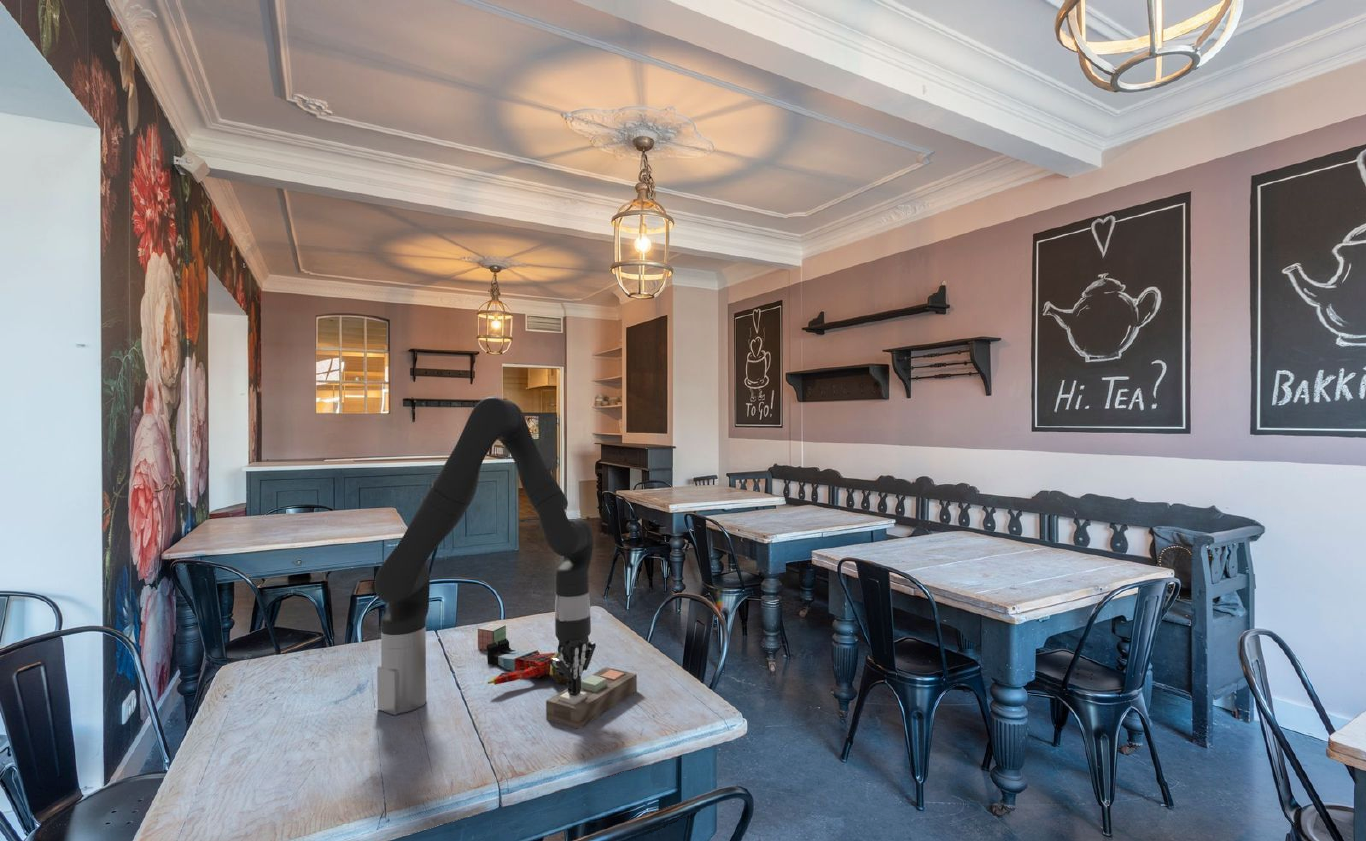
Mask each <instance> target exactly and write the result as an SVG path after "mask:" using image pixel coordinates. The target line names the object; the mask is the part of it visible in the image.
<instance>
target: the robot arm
mask: <svg viewBox="0 0 1366 841" xmlns="http://www.w3.org/2000/svg"><path fill="white" fill-rule="evenodd" d="M496 441H499V442H500V443H501V444H502V445H503V447H505V449H506V450H507V451H508V453H509V454H510V456H511V458H512V459H513V460H512V461H513V462H514V464H515V466H516V469H517V473H518V474H517V475H518V478H519V482H520V484H521V487H522V490H523V491H524V493H525V495H526V497H527V499H528V501H529V502H530V504H531V505H532V507H533V509H534V510H535V512H536V514H537V516H538V518H539V522H540V526H541V528H542V531H543V535H544V537H545V541H546V543H547V545H548V546H549V548H550V549H551V551H552V552H554V553H555V554H556V555H558V556H560V557H563V560H562V563H560V564H561V565H559V566H558V568H557V569H556V570H555V602H554V625H555V626H554V628H555V631H554V634H555V637H556V638H557V640H558V645H557V648H556V650H557V653H558V654H557V655H556V657H555V659H554V658H551V660H550V664H551V665H552V667H553V668H554V669H555V671H556V672H557V673H558V675H559V676H560V677H562V678H567V684H566V685H567V688H566V689H568V693H569V694H570V695H573V696H576V695H578V694H579V693H580V692H581V681H582V676H583V674H584V673H583V672H584V671H587V670H588V669H589V665H590V663H591V660H592V658H593V654H594V652H595V649H596V647H597V645H596V643H595V642H591V641H590V639H589V636H590V635H591V632H592V631H591V627H592V626H591V625H592V624H591V623H592V622H591V600H590V591H589V590H590V588H589V587H590V586H589V582H590V581H589V570H590V567H591V566H590V565H591V560H592V555H593V549H594V533H593V530H592V527H591V525H590V524H589V522H587V521H586V520H584V519H581V518H576V519H571V520H569V518H568V516H567V513H566V509H567V508H568V506H569V502H568V498H567V496H566V495H565V494H564V491H563V490H562V488H561V487H560V485H559V483H558V481H557V480H556V479H555V477H554V475H553V474H552V472H551V470H550V469H549V467H548V465H547V464H546V462H545V460H544V458H543V456H542V454H541V452H540V451H539V448H538V446H537V444H536V442H535V440H534V438H533V436H532V433H531V430H530V428H529V426H528V423H527V421H526V418H525V415H524V413H523V412H522V410H521V408H520V406H519V405H517V404H516V403H515V402H513V401H510V400H508V399H505V398H504V399H503V398H500V397H496V396H489V397H484V398H483V399H481V400H480V401H478V402H477V403H476V405H475V406H474V407H473V408H472V410H471V413H470V414H469V416H468V418H467V421H466V423H465V424H464V427H463V429H462V432H461V434H460V435H459V439H458V440H457V443H456V444H455V446H454V448H453V450H452V452H451V453H450V455H449V456H448V458H447V460H445V461H446V462H445V463H444V465H443V467H442V469H440V472H439V474H438V475H437V477H436V478H435V480H434V481H433V483H432V484H431V486H430V488H429V489H428V491H427V493H426V494H425V496H424V498H423V500H422V502H421V504H420V505H419V507H418V509H417V510H416V512H415V514H414V515H413V518H412V519H411V521H410V523H409V525H408V526H407V528H406V531H405V532H404V534H403V536H402V538H401V539H400V540H399V542H398V543H397V545H396V546H395V547H394V549H393V550H392V552H391V553H390V554H389V555H388V557H387V558H386V559H385V560H384V562H383V564H382V565H381V566H380V567H379V569H378V570H377V572H376V575H375V577H374V582H373V584H374V585H373V586H374V591H375V595H376V596H377V598H378V599H379V600H380V601H382V602H384V603H387V604H388V605H387V608H386V611H385V613H384V615H383V616H382V618H381V622H380V632H381V633H380V640H381V641H380V642H381V643H380V644H381V645H380V647H381V648H380V651H381V655H380V656H381V657H380V660H381V662H380V664H381V665H378V666H377V667H376V668H377V669H376V670H377V671H376V675H377V676H376V677H377V678H376V679H377V682H376V683H377V686H376V687H377V689H376V690H377V693H376V694H377V710H379V711H382V712H385V713H387V714H390V715H393V716H396V715H398V714H402V713H408V712H411V711H415V710H417V709H420V708H421V707H422V706H424V705H425V703H426V702H427V642H426V640H427V639H426V638H427V637H426V636H427V635H426V632H427V631H426V630H427V629H426V628H427V627H426V626H427V625H426V621H427V616H428V613H429V608H430V584H431V579H430V571H429V567H428V565H427V561H428V560H429V558H430V556H431V555H432V553H433V552H434V551H435V550H436V549H437V547H439V545H440V544H441V543H442V542H443V541H444V540H445V539H446V538H447V537H448V535H450V533H451V532H452V531H453V530H454V528H455V527H456V526H457V525H458V524H459V523H460V521H461V520H462V518H463V517H464V514H465V513H466V512H467V510H468V509H469V506H470V505H471V503H472V502H473V501H474V497H475V495H476V492H477V488H478V484H479V477H480V472H481V467H482V464H483V462H484V460H485V458H486V456H487V455H488V453H489V452H490V450H491V449H492V447H493V445H494V444H495V443H496ZM570 668H571V669H570Z"/></svg>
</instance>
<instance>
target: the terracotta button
mask: <svg viewBox="0 0 1366 841" xmlns="http://www.w3.org/2000/svg"><path fill="white" fill-rule="evenodd" d="M622 676H624V673H622V672H618V671H613V670H609V671H608V672H606V673H604V674H602V675H601V676H600V677H602V678H606V679H608V680H612V681H615V680H617V679H619V678H620V677H622Z"/></svg>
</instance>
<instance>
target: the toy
mask: <svg viewBox="0 0 1366 841" xmlns="http://www.w3.org/2000/svg"><path fill="white" fill-rule="evenodd" d="M486 646H487V650H486V658H487V661H486V662H487V664H488V665H491V666H492V665H495V666H496V665H497V666H500V667H503V669H504V670H507V671H506V672H501V673H500V674H498V676H497V675H496V676H495V677H492V678H491V679H490V680H488V681H487V685H491V684H494V685H500V684H501V685H502V684H505V683H510V682H514V681H519V680H522V679H527V678H533V677H535V678H540V677H543V676H545V675H548V674H549V676H550V677H551V678H552V679H554V681H556V683H558V684H561V685H562V684H565V685H567V678H562V677H560V676H559V675H558V673H557V672H556V671H555V669H554V668H553V667H552V665H551V664H550V660H551V658H554V659H555V657H556V655H557V654H558V651H557V652H549V653H540V652H539V650H534V651H532V650H529V649H523V650H522V649H521V650H520V649H518V650H517V649H512V648H511V647H510V641H509V639H507V638H506V639H503V640H500V641H498V644H497V643H496V642H494V643H491V644H488V645H486ZM570 669H571V668H570Z"/></svg>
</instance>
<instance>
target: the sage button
mask: <svg viewBox="0 0 1366 841" xmlns="http://www.w3.org/2000/svg"><path fill="white" fill-rule="evenodd" d="M589 676H590V677H589ZM589 676H587V677H588V678H587V677H586V679H585V678H584V679H581V689H583V690H587V691H591V692H597V691H599V690H600V689H602V688H604V687H605V686H606V678H602V677H598V676H594V675H593V674H591V675H589Z"/></svg>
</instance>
